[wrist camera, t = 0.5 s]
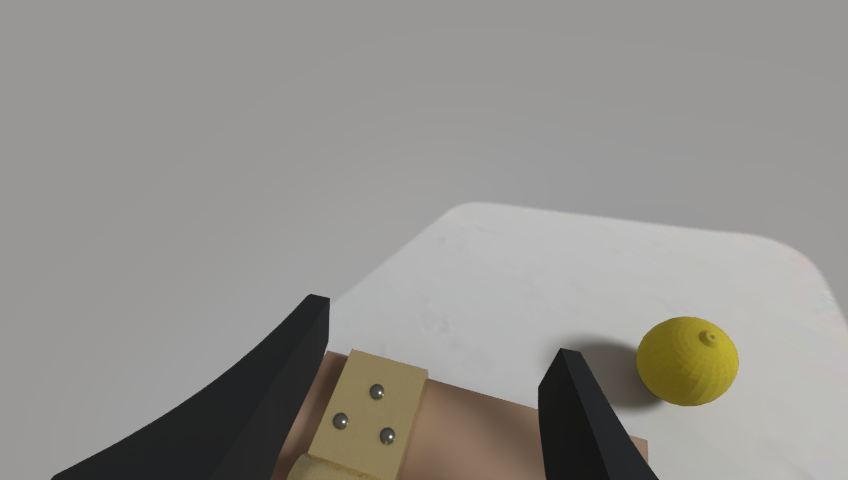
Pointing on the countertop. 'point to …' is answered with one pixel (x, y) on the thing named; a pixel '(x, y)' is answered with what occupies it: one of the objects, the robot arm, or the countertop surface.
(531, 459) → the walnut board
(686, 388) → the lemon
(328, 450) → the plate
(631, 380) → the countertop surface
